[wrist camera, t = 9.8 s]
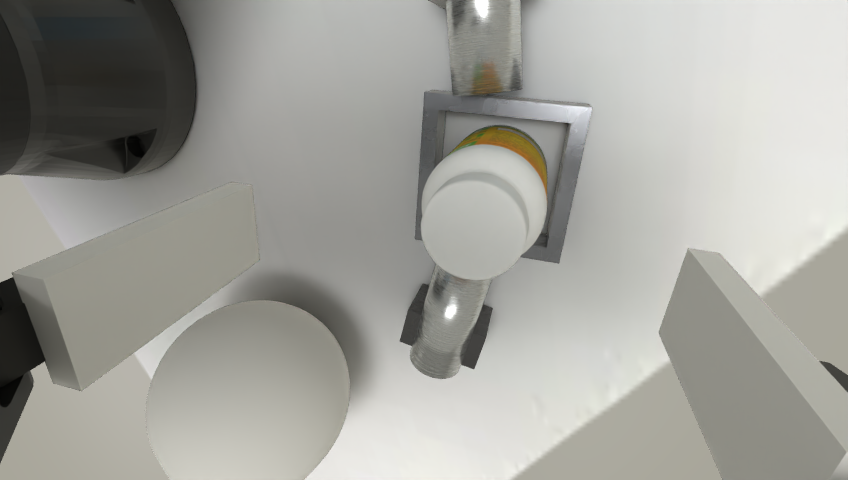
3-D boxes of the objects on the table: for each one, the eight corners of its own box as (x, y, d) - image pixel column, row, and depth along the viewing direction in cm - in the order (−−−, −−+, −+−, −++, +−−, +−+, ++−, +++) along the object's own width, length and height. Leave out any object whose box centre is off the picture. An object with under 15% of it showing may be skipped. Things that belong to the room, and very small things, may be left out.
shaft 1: (540, 84, 22) (539, 88, 18) (450, 92, 24) (428, 99, 19) (540, -78, 20) (539, -117, 15) (438, -58, 21) (411, -89, 17)
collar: (423, 227, 27) (414, 239, 25) (433, 89, 24) (424, 92, 22) (557, 249, 25) (558, 263, 23) (588, 104, 22) (592, 107, 20)
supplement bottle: (485, 104, 23) (449, 129, 15) (568, 159, 23) (580, 218, 15) (434, 183, 26) (377, 245, 17) (509, 233, 26) (490, 321, 17)
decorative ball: (230, 368, 36) (99, 495, 26) (240, 247, 31) (82, 342, 21) (358, 423, 35) (276, 582, 24) (391, 305, 30) (305, 441, 19)
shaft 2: (438, 229, 27) (417, 260, 22) (512, 253, 26) (506, 291, 22) (413, 318, 30) (390, 361, 25) (479, 342, 29) (467, 391, 25)
